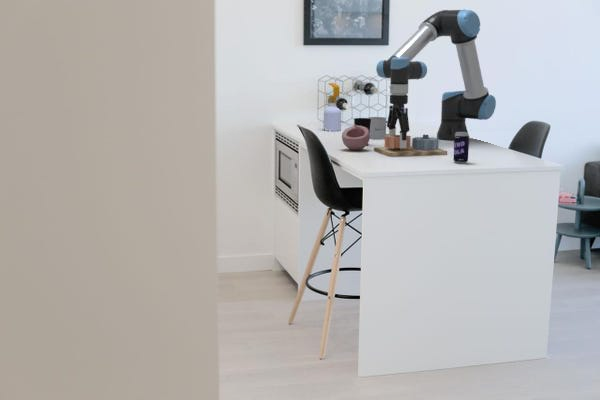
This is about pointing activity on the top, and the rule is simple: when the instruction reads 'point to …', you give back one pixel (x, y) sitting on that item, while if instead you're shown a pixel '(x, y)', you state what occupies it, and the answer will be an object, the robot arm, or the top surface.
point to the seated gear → (425, 143)
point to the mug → (378, 128)
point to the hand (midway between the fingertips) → (397, 146)
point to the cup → (363, 123)
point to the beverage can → (461, 147)
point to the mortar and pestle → (355, 137)
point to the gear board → (408, 151)
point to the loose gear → (395, 141)
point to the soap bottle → (333, 112)
